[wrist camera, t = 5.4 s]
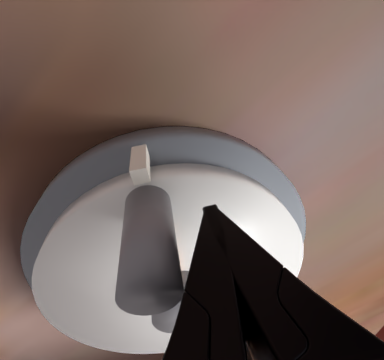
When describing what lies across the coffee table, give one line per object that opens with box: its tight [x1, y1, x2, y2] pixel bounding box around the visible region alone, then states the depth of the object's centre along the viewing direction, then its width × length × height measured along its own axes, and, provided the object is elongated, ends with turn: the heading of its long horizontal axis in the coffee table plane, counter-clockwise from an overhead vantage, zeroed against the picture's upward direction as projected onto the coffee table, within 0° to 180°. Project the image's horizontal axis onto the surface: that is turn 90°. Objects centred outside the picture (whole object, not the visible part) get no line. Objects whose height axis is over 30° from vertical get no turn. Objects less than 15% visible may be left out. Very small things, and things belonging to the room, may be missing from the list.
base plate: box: [20, 126, 306, 289], centre depth 14 cm, size 16×16×4 cm
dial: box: [32, 163, 304, 354], centre depth 12 cm, size 14×14×5 cm
